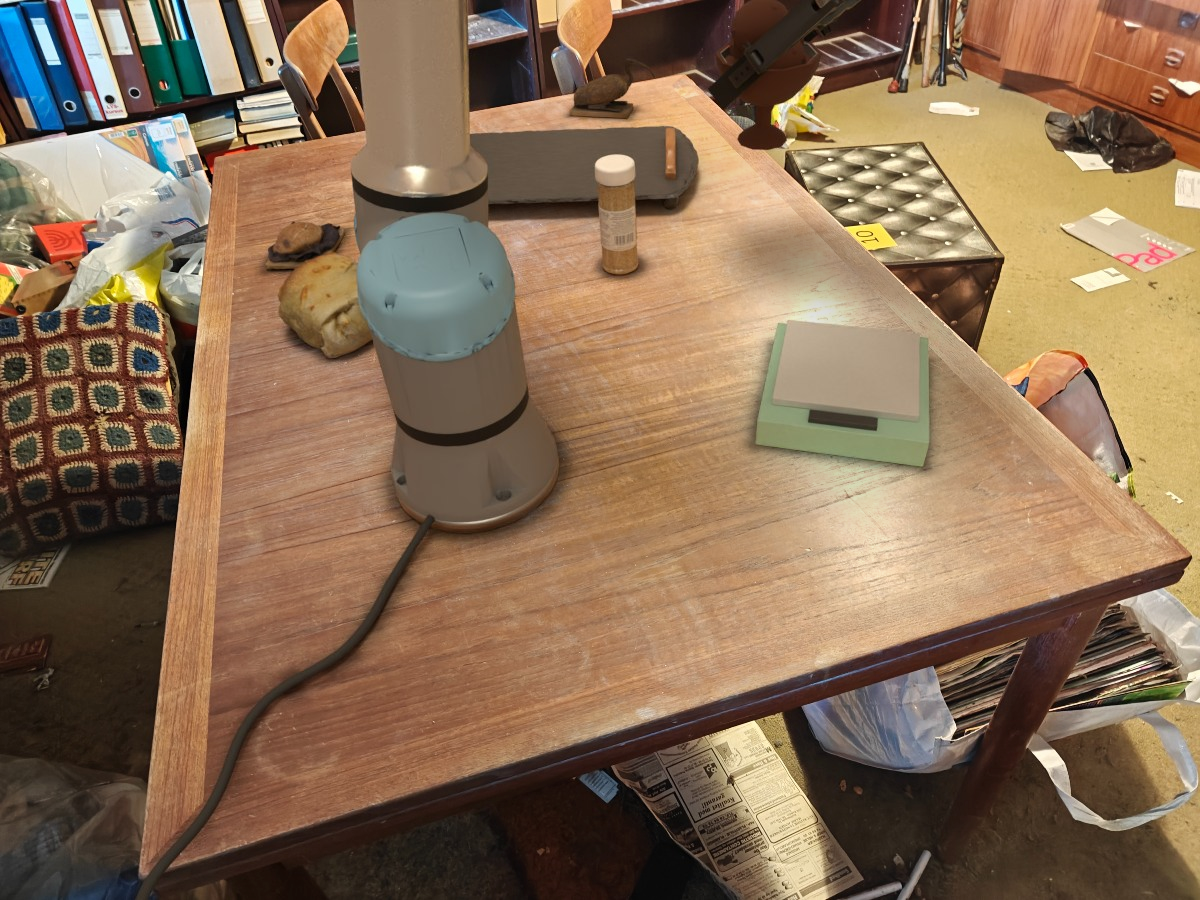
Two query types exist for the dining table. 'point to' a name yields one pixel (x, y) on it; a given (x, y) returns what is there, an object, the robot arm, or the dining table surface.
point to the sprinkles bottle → (617, 213)
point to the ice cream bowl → (774, 83)
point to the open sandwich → (303, 244)
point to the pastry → (325, 305)
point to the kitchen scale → (847, 392)
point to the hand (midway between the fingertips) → (743, 80)
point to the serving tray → (584, 163)
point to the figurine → (605, 95)
